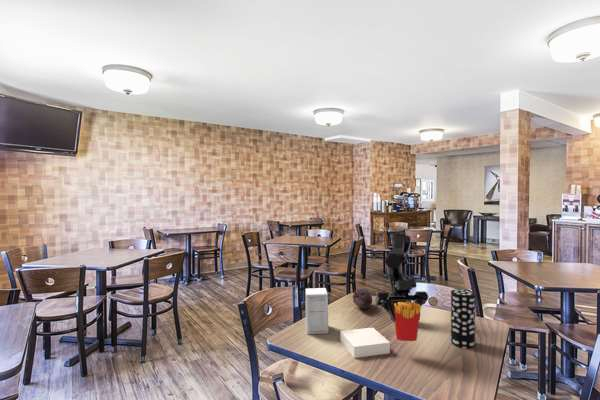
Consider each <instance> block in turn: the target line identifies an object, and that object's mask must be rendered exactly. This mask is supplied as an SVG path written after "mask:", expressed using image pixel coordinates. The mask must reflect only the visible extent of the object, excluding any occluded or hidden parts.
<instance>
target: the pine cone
mask: <svg viewBox="0 0 600 400" xmlns="http://www.w3.org/2000/svg"><path fill="white" fill-rule="evenodd" d="M352 299H353V303H354V304H355V305H356V306H357V307H359V308H361V309H369V308H370V307H371V305H372V304H373V296H372V294H371V292H370V291H368V290H367V289H365V288H357V289H356V290H354V292H353V294H352Z"/></svg>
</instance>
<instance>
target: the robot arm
mask: <svg viewBox="0 0 600 400" xmlns="http://www.w3.org/2000/svg"><path fill="white" fill-rule="evenodd" d="M391 245H392V246H393V248H392V249H391V250H389V252H388V254H387V255H386V258H385V266H386V270H387V271H386V273H387V276H388V277H387V278H388V281H389V285H390V287H389V290H390V291H391V293H389V292H388V291H379V292H377V294H376V296H375V299H374V300H375V305H376V306H380V308H383V309H384V310H385V311H386V313H388V315H389V316H390V319H391V320H392V321H393V322H395V320H396V319H395V314H394V311H395V306H394V303H396V305H397V306H398V304H397V302H400V303H401V302H405V303H406V301H408V302H409V301H410V302H411V303H412V302H414V303H416V304H419V305H421V307H422V306H423V305H425V304H426V303H427V301H428V299H429V294H428V293H427V291H415V293H414V294H411V290H413V289H415V288H417V282H416V279H415V278H409V279H408V280H406V270H407V269H406V268H407V267H406V266H407V265H408V262H409V259H408V257H407V255H408V254H409V252H410V247H411V246H412V238H411V236H409V235H407V234H406V233H403V232H401V233H400V232H397V233H394V235H392V237H391ZM419 313H420V314H421V311H420V312H419ZM420 318H421V315H420V316H419V321H420Z"/></svg>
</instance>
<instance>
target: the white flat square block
mask: <svg viewBox="0 0 600 400" xmlns="http://www.w3.org/2000/svg"><path fill="white" fill-rule="evenodd" d="M339 332H340V335H339V336H340V342H341V344H342V345H343V346H344V347H345V348H346V350H347V351H348V352H349V353H350V355H351V356H352V357H353V358H354V359H358V358H363V357H364V358H365V357H371V356H380V355H387V354H391V342H390V341H389V340H388V339H386V338H385V337H384V336H383V335H382V334H381V333H380V332H379V331H377V330H376V329H375V328H374V327H367V328H366V327H364V328H354V329H348V330H340V331H339Z"/></svg>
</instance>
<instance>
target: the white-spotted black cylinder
mask: <svg viewBox="0 0 600 400" xmlns="http://www.w3.org/2000/svg"><path fill="white" fill-rule="evenodd" d="M450 343H451V344H452V345H453V346H455V347H457V348H460V349H465V350H467V349H468V350H470V349H474V348H475V347H476V293H475V292H474V291H472V290H467V289H458V288H457V289H451V291H450Z"/></svg>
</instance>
